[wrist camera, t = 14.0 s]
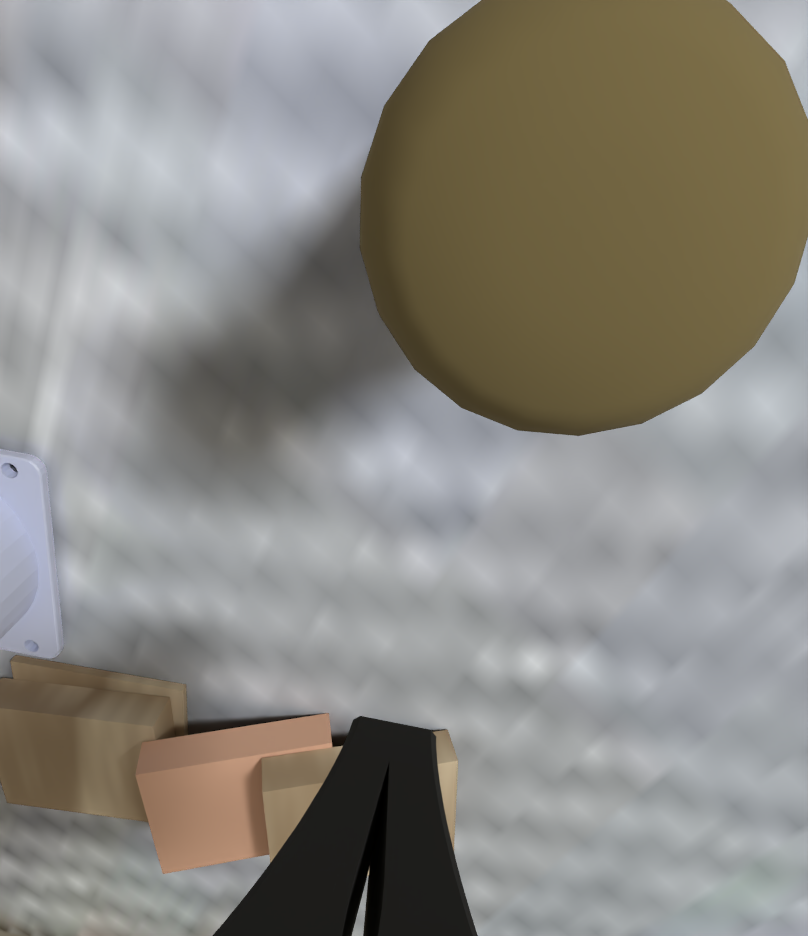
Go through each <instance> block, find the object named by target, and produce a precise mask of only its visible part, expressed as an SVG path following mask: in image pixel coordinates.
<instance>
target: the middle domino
mask: <svg viewBox="0 0 808 936" xmlns="http://www.w3.org/2000/svg"><path fill="white" fill-rule="evenodd" d="M174 737H176V734H175V727H174V721H173V714H172V708H171V701H170V697H163V696H155V695H146V694H137V693H129V692H120V691H112V690H103V689H95V688H86V687H78V686H69V685H61V684H52V683H44V682H35V681H26V680H17V679H9V678H1V679H0V781H1V784H2V788H3V791H4V794H5V797H6V800H7V803H12V804H19V805H27V806H34V807H42V808H49V809H56V810H64V811H71V812H79V813H86V814H93V815H101V816H108V817H116V818H123V819H130V820H138V821H145V822H148V819H147V815H146V811H145V808H144V804H143V801H142V797H141V794H140V790H139V786H138V783H137V779H136V776H135V774H136V769H137V764H138V759H139V755H140V750H141V745H142V742H148V741H155V740H161V739H167V738H174Z"/></svg>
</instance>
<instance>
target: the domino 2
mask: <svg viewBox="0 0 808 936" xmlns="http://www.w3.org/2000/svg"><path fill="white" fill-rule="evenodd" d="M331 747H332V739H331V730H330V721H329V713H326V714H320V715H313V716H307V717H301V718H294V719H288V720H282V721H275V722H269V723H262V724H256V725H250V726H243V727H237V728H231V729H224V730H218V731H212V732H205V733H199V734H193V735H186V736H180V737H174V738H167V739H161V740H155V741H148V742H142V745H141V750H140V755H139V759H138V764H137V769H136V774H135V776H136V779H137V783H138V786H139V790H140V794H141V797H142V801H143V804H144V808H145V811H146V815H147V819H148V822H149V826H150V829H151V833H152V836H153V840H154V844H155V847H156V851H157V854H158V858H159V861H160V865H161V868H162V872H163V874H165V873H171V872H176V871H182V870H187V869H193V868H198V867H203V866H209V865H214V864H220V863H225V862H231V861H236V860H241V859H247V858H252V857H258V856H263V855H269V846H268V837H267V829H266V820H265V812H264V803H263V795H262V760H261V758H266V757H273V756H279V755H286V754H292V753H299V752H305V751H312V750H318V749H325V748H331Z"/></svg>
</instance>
